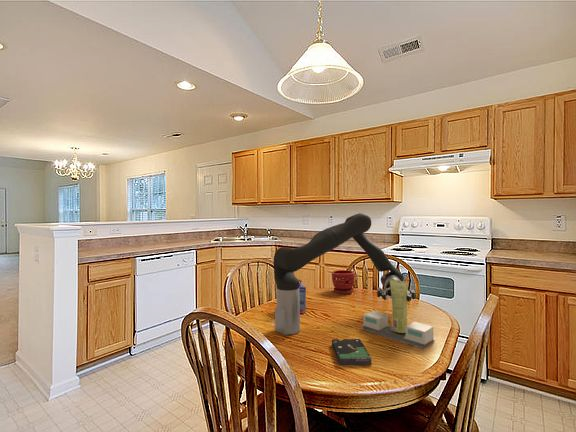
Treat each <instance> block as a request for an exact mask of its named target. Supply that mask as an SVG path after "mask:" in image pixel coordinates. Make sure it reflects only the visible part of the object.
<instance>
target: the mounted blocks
mask: <svg viewBox="0 0 576 432" xmlns="http://www.w3.org/2000/svg"><path fill="white" fill-rule="evenodd" d="M362 317H363V325H362V327H363V326H367V327H370V328H373V329H376V330H380V329H382V328H384V327H386V326H388V325H389V314H387V313H384V312H380V311H377V310H372V311H369V312H366V313H364V314H363V315H362ZM433 338H434V326H433V325H429V324H425V323H421V322H418V321H413V322H411V323H410V324H407V326H406V339H408V340H411V341H415V342H418V343H421V344H424V345H425V344H427V343H428V342H429V341H431V340H432V339H433Z"/></svg>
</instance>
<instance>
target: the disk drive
mask: <svg viewBox="0 0 576 432" xmlns="http://www.w3.org/2000/svg"><path fill="white" fill-rule="evenodd" d="M331 347H332V349H333V352H334V354H335V357H336V360H337V363H338V365H339V366H371V365H372V358H371V355H370V353H369V351H368V350H367V348H366V347H365V345H364V344H363V342H362V340H361V339H360V338H344V339H342V340H339V338H334V339H333V338H332V339H331Z"/></svg>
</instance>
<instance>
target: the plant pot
mask: <svg viewBox="0 0 576 432" xmlns="http://www.w3.org/2000/svg"><path fill="white" fill-rule="evenodd" d="M355 277H356V276H355V271H353V270H350V269H349V270H348V269H346V270H345V269H342V270H341V269H339V270H332V271H331V281H332V284H333V291H334V292H335V293H337V294H341V295H342V294H343V295H344V294H345V295H346V294H348V295H349V294H352V293H353V292H354V291H355V288H354V284H355Z"/></svg>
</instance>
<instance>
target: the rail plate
mask: <svg viewBox="0 0 576 432" xmlns="http://www.w3.org/2000/svg"><path fill="white" fill-rule="evenodd" d="M360 330H363V331H365V332H368V333H372V334H375V335H378V336H381V337H384V338H387V339H391V340H394V341H397V342H400V343H403V344H406V345H409V346H413V347H414V348H415V347H416V348H419V349H421V350H424V348H427V347H428V346H430V344H432V343H434V342H435V341H436V339H435V338H434V337H433V339H432V340H431V341H429V342H428V343H427V344H425V345H424V344H421V343H418V342H415V341H411V340H408V339H406V333H398V332H395V331H394V325H389V324H388V326H386V327H384V328H382V329H380V330H376V329H373V328H370V327H367V326H363V325H362V327H360Z"/></svg>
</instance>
